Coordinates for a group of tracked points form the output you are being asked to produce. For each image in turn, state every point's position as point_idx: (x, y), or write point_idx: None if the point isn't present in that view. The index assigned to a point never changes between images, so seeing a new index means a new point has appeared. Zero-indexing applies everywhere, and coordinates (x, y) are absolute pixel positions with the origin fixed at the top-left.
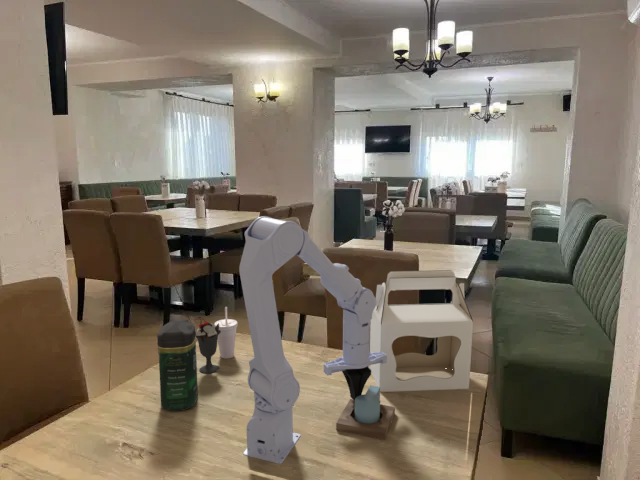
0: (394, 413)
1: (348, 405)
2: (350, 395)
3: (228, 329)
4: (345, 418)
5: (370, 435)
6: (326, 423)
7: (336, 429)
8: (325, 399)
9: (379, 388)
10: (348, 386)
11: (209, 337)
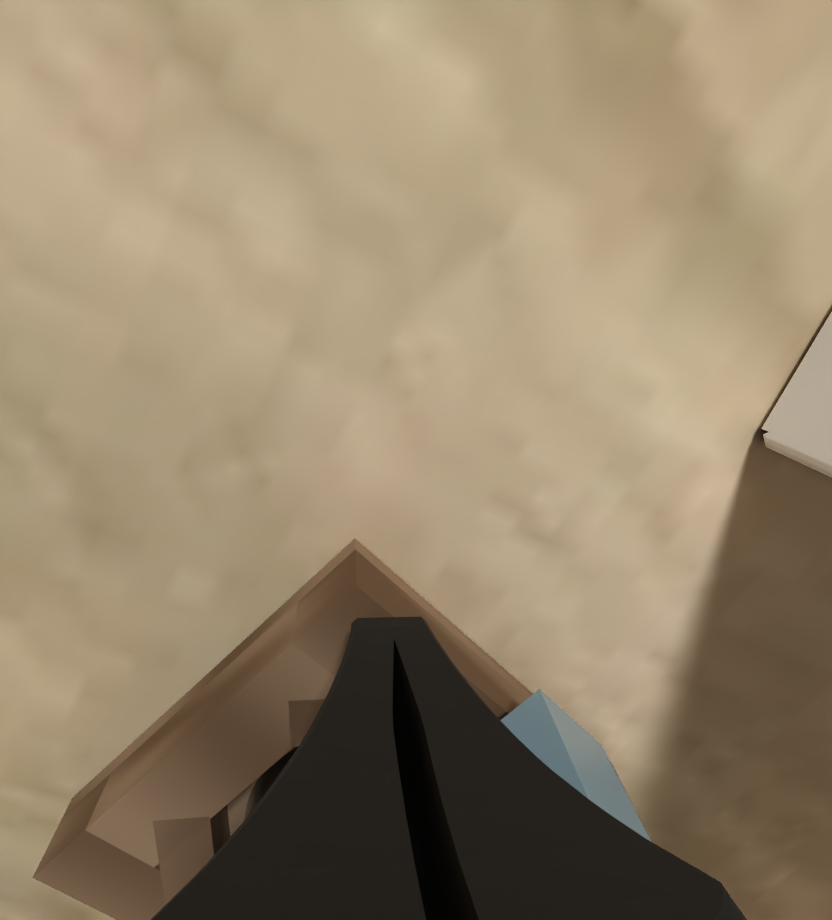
0: None
1: (272, 688)
2: (351, 628)
3: None
4: (145, 847)
5: None
6: (26, 681)
7: (64, 818)
8: (166, 289)
9: None
10: (328, 693)
11: None
